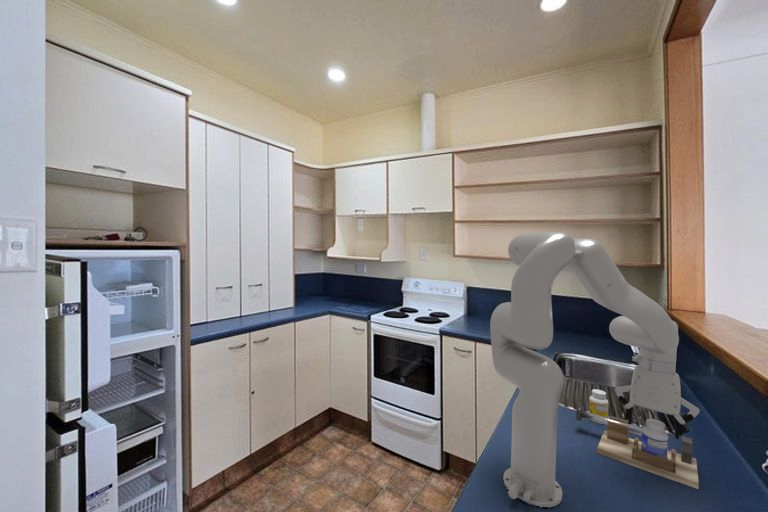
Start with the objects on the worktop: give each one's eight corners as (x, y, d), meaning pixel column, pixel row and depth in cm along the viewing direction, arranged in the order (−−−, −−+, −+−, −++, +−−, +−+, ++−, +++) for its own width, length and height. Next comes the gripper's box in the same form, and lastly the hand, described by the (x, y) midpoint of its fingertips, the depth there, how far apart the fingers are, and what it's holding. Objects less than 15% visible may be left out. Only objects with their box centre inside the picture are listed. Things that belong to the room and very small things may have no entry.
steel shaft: (646, 444, 91) (647, 428, 91) (575, 422, 103) (576, 408, 103) (647, 438, 95) (648, 422, 95) (579, 417, 106) (579, 403, 106)
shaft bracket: (698, 489, 79) (699, 460, 79) (597, 453, 92) (597, 428, 92) (695, 464, 88) (697, 438, 88) (604, 435, 102) (605, 412, 102)
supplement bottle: (609, 426, 107) (610, 396, 107) (589, 422, 110) (590, 393, 109) (606, 418, 112) (607, 390, 112) (587, 414, 115) (588, 387, 114)
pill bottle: (641, 449, 92) (642, 414, 92) (666, 457, 89) (668, 421, 88) (640, 459, 88) (642, 422, 88) (667, 467, 84) (669, 429, 84)
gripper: (615, 359, 91) (611, 422, 91) (702, 378, 79) (698, 449, 79) (618, 354, 96) (615, 413, 96) (701, 370, 85) (696, 437, 85)
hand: (652, 429), depth 88 cm, fingers open, 9 cm apart
